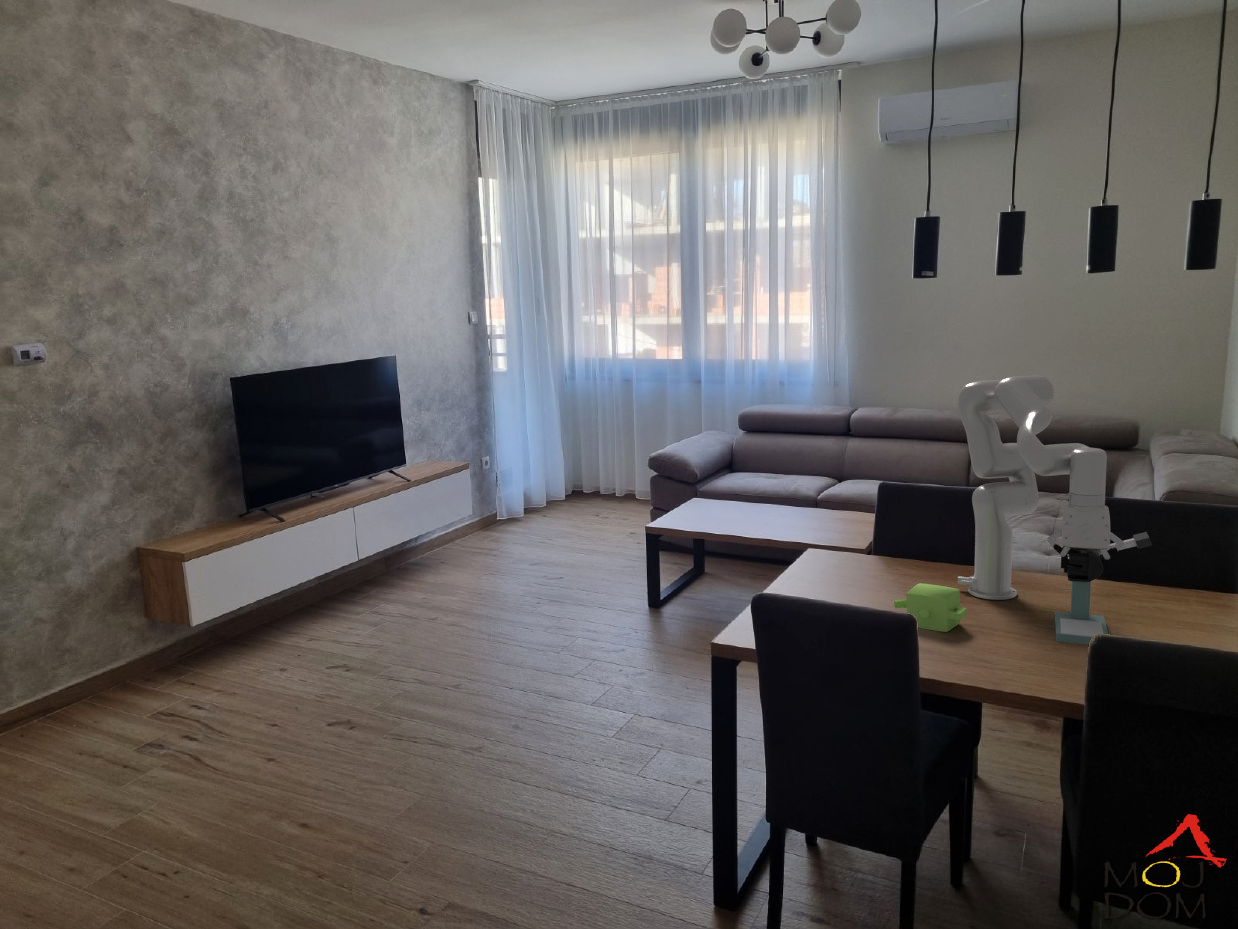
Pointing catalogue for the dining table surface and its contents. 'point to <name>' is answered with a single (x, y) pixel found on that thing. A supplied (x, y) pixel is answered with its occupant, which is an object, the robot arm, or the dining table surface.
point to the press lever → (1134, 542)
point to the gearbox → (933, 606)
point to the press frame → (1079, 618)
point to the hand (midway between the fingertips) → (1083, 572)
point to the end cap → (1084, 565)
